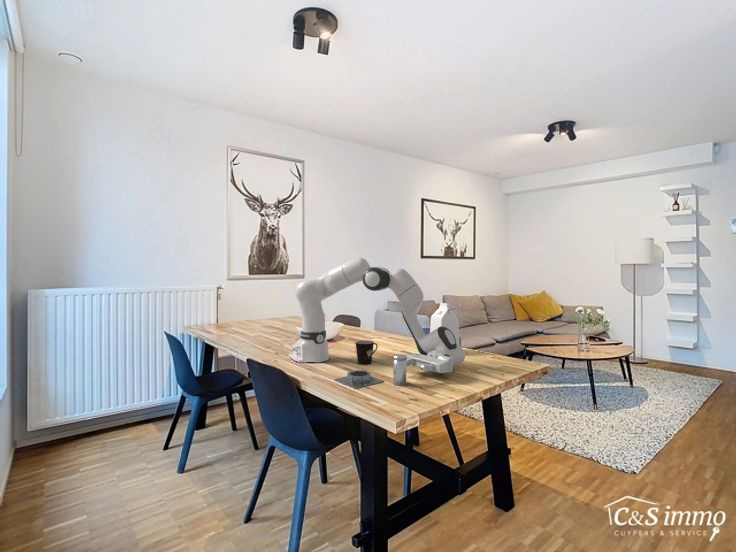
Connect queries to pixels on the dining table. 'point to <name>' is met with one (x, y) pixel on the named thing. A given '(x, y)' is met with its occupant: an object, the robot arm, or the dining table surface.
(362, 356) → the coffee mug
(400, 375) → the grey metal cylinder
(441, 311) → the milk
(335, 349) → the dining table surface
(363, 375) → the duct collar
